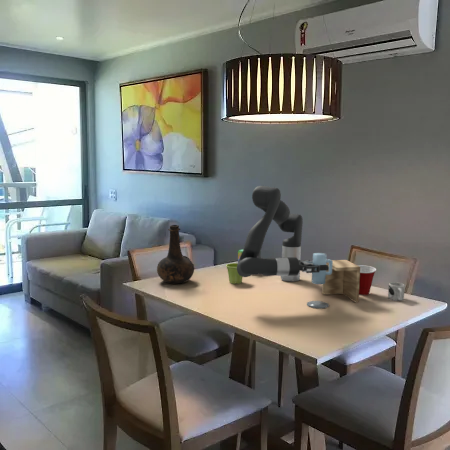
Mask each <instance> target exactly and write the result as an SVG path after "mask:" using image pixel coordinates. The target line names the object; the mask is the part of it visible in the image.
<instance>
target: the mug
mask: <svg viewBox="0 0 450 450" xmlns="http://www.w3.org/2000/svg"><path fill="white" fill-rule="evenodd" d="M405 287H406V285H405V284H404V283H403V282H398V281H396V282H394V281H393V282H389V283H388V293H387V295H388V296H387V299H388V300H390V301H394V302H402V301H404V300H405V289H406V288H405Z"/></svg>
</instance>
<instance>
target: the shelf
mask: <svg viewBox="0 0 450 450" xmlns="http://www.w3.org/2000/svg"><path fill="white" fill-rule="evenodd" d="M331 260H332V261H333V263H332V274H331V275H326V278H325V284H321V286H322V287H321V288H322V289H321V290H322V292H321V294H322V295H340V294H343V295H345V296H346V297H348V298H349V299H350V300H352V301H353V302H355V303H359V296H360V295H359V281H360V267H359V265H357V264H355V263H353V262H351V261H349V260H347V259H331ZM326 265H328V270H326V272H329V263H326Z"/></svg>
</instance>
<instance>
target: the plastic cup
mask: <svg viewBox="0 0 450 450" xmlns="http://www.w3.org/2000/svg"><path fill="white" fill-rule="evenodd" d="M358 266H359V267H360V281H359V296H360V295H361V296H369V295H370V291H371V288H372V283H373V279H374V276H375V274H376V271H377V268H376V267H374V266H370V265H365V264H364V265H363V264H362V265H358Z"/></svg>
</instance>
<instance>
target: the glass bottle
mask: <svg viewBox="0 0 450 450" xmlns="http://www.w3.org/2000/svg"><path fill="white" fill-rule="evenodd" d="M168 231H169V244H168V253H167V255H166V257H164V258H162V259H161V260H159V262H158V264H157V266H156V273H157V274H158V277H159V278H160V279H161V280H162V281H163V282H165V283H167V284H172V285H173V284H175V285H177V284H184V283H186V282H188V281H189V280H190V279H191V278H192V277H193V275H194V273H195V267H194V264H193V262H192V260H191V259H190V258H189V257H188V256H186V255H183V253H182V248H181V242H180V231H181V228H180V226H179V225H178V224H170V225H169V228H168Z"/></svg>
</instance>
